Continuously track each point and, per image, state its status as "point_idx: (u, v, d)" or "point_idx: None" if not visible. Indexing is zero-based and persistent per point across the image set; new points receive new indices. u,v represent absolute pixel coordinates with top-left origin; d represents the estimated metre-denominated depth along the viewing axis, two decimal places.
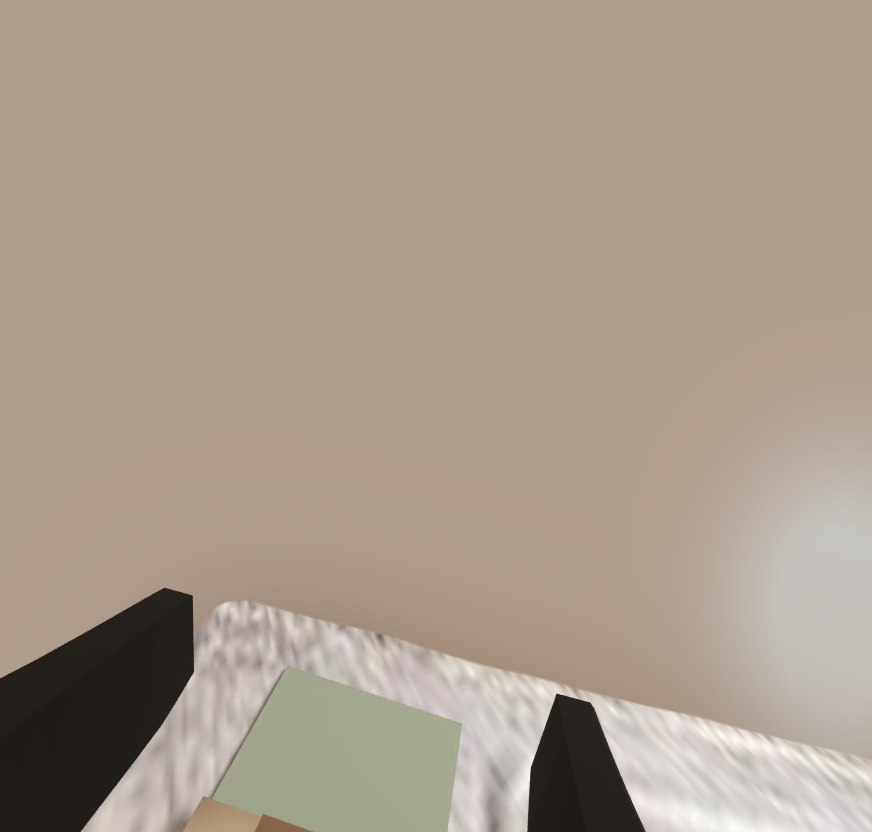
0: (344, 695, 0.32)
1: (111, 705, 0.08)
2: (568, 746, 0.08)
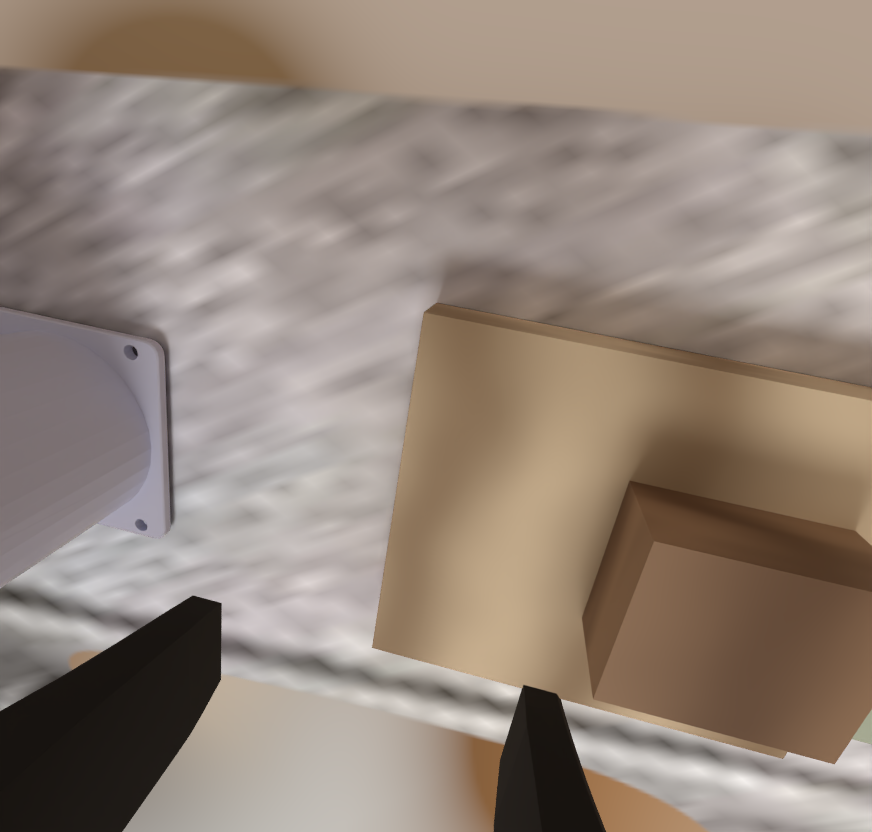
0: None
1: (146, 715, 0.08)
2: (529, 735, 0.08)
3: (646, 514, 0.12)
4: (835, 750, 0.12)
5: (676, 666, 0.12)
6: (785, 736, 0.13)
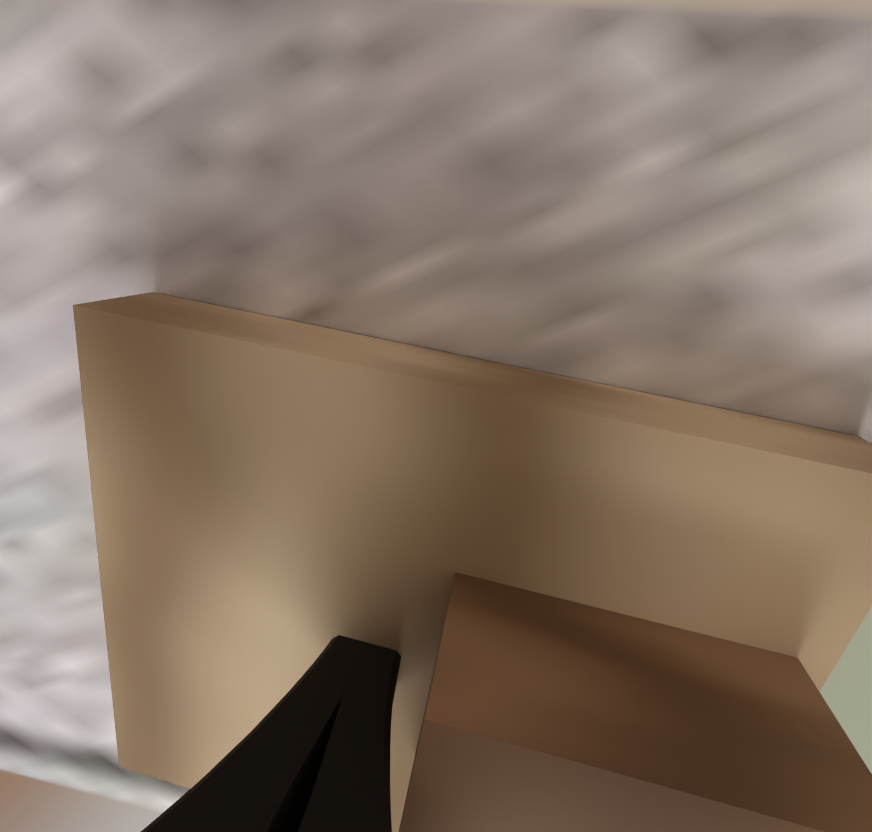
0: None
1: None
2: (347, 684, 0.08)
3: (445, 648, 0.08)
4: None
5: None
6: None
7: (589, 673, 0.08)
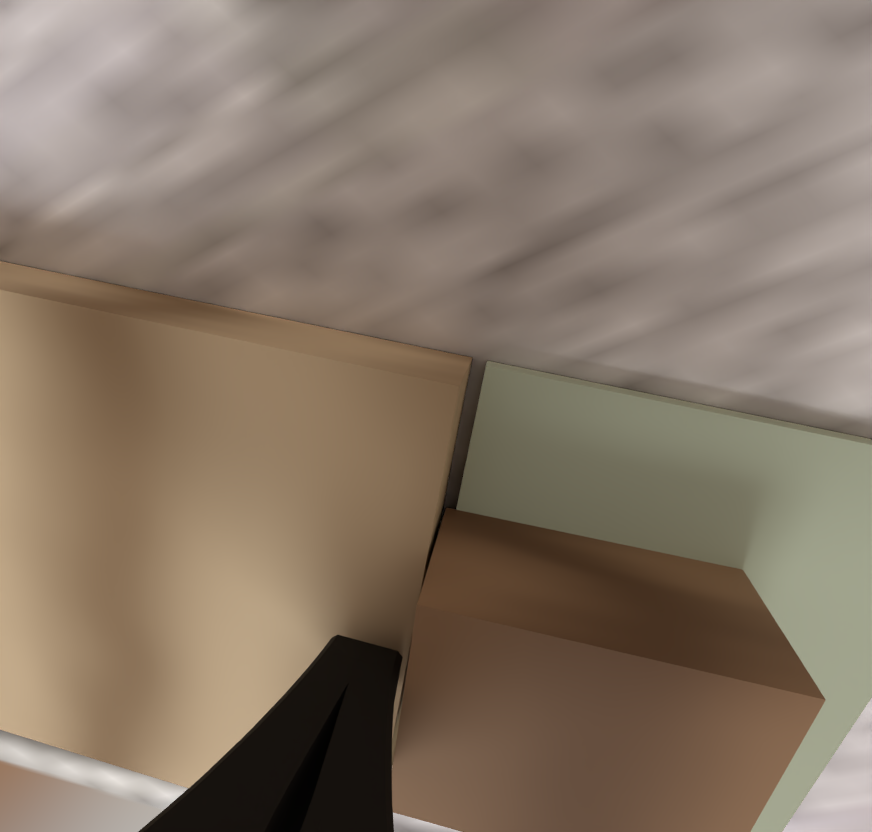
0: (855, 652, 0.10)
1: (320, 767, 0.08)
2: (349, 685, 0.08)
3: (435, 559, 0.09)
4: None
5: (480, 770, 0.09)
6: None
7: (557, 577, 0.09)
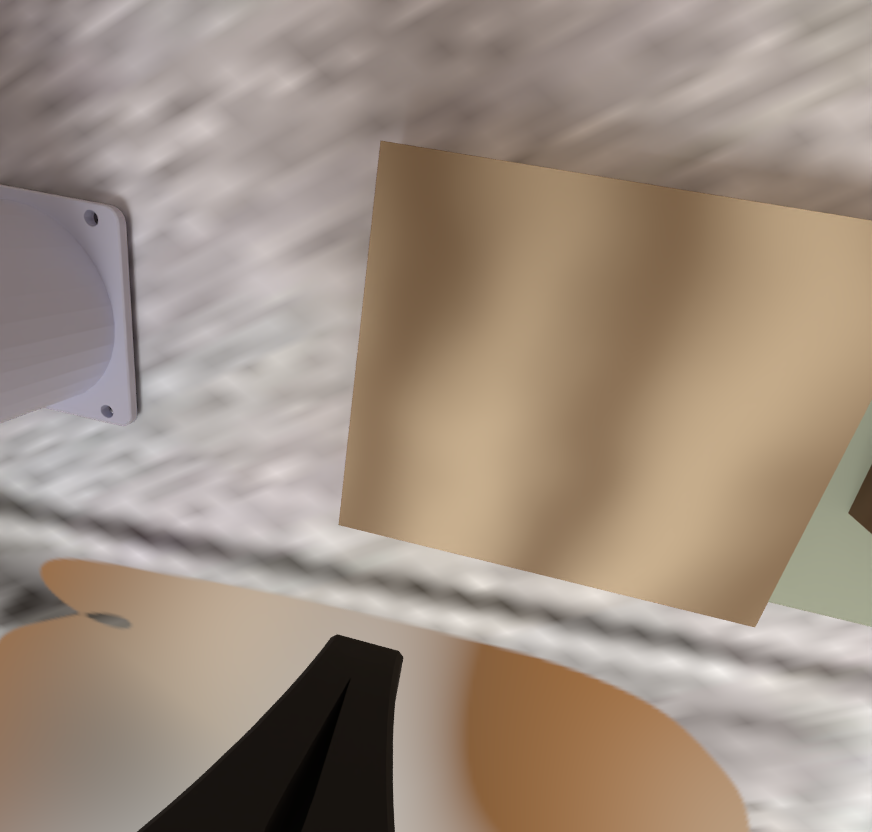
0: None
1: (320, 767, 0.08)
2: (349, 685, 0.08)
3: None
4: None
5: None
6: None
7: None
